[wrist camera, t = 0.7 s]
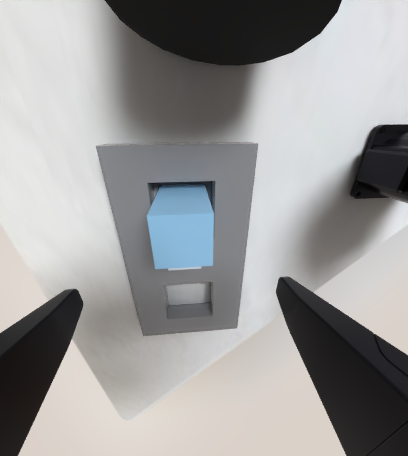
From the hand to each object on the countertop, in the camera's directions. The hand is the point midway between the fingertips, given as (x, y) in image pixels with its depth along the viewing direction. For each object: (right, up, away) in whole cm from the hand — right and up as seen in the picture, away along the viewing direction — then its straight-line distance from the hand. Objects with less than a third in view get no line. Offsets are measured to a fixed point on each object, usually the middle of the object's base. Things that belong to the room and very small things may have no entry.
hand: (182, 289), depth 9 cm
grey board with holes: (-1, 0, +12) cm, 12 cm away
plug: (-1, +5, +10) cm, 11 cm away
